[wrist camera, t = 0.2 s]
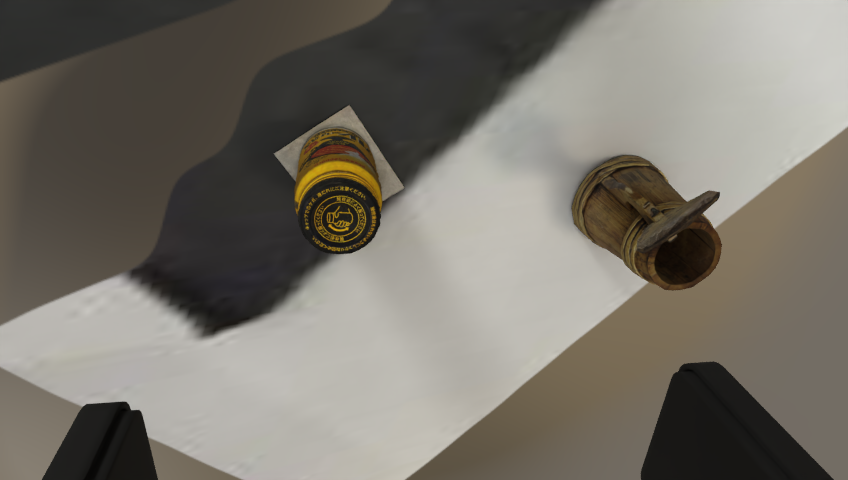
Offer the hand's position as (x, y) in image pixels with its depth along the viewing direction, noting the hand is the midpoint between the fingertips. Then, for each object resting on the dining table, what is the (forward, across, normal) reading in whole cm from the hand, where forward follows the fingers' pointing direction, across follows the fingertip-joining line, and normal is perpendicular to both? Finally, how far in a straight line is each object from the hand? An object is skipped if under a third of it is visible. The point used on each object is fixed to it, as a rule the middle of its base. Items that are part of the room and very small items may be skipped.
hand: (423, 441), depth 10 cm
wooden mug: (+37, -23, +10) cm, 45 cm away
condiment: (+37, +1, +8) cm, 38 cm away
